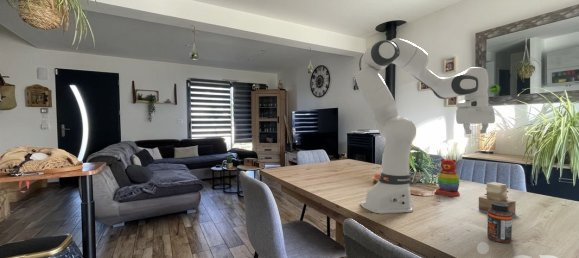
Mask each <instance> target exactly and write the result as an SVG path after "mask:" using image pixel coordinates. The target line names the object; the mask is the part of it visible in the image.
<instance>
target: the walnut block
mask: <svg viewBox="0 0 579 258" xmlns="http://www.w3.org/2000/svg"><path fill="white" fill-rule="evenodd" d="M492 202H500V203H505V204H507V205H508V211H509V212H510V213H511V214H512V215H514V214H515V212H516V202H517V201H516V200H512V199H509V198H507V200H503V201H496V200H492V199H488V198H487V195H481V196H478V207H479V209H480V210H484V211H487V212H488V210H489V209H491V208H492Z"/></svg>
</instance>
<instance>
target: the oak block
mask: <svg viewBox="0 0 579 258" xmlns="http://www.w3.org/2000/svg"><path fill="white" fill-rule="evenodd" d="M486 188H487V190H486V193H487V195H486V196H487V198H488V199H492V200H496V201H503V200H507V199H508V198H507V197H508V192H507V191H508V185H507V184H506V183H501V182H495V181H493V182H486Z"/></svg>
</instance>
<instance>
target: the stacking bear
mask: <svg viewBox="0 0 579 258" xmlns="http://www.w3.org/2000/svg"><path fill="white" fill-rule="evenodd" d="M440 168H441V169H440V170H439V173H438V176H437V183H438V188H437V189H435V190H436V192H435V193H434V194H435V195H437V196H439V195H440V196H447V197H450V198H457V197H458V198H459V197H460V195H461V193H460V192H459V187H460V178H459V175H458V172H457V171H456V168H457V160H456V159H454V158H453V159H449V158H448V159H447V158H446V159H445V158H441V159H440Z"/></svg>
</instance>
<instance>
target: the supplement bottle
mask: <svg viewBox="0 0 579 258" xmlns="http://www.w3.org/2000/svg"><path fill="white" fill-rule="evenodd" d="M512 228H513V217H512V214H511V213H510V212H509V211H508V205H507V204H505V203H500V202H492V208H491V209H489V210H488V214H487V228H486V229H487V231H486V233H487V238H488V239H490V240H491V241H494V242H497V243H503V244H509V243H511V242H512V239H513V238H512V237H513V235H512V234H513V229H512Z"/></svg>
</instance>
